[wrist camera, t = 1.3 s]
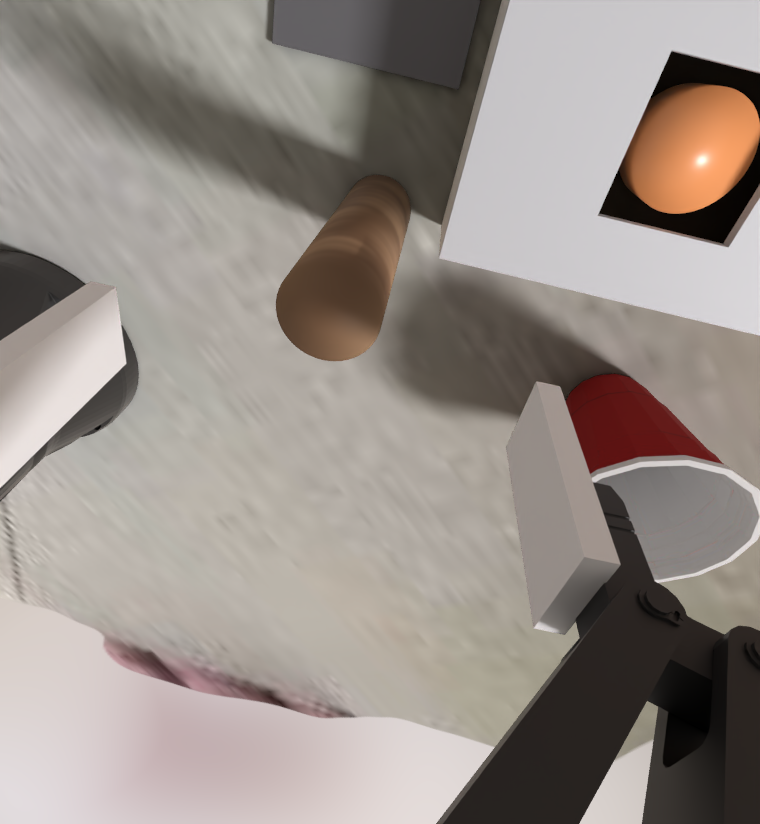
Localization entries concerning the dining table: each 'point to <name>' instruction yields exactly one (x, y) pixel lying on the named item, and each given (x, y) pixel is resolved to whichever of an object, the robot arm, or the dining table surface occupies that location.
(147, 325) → the dining table surface
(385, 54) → the pad
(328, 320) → the wooden rod
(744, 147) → the orange dome button
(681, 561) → the plastic cup
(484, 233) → the box
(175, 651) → the dining table surface
